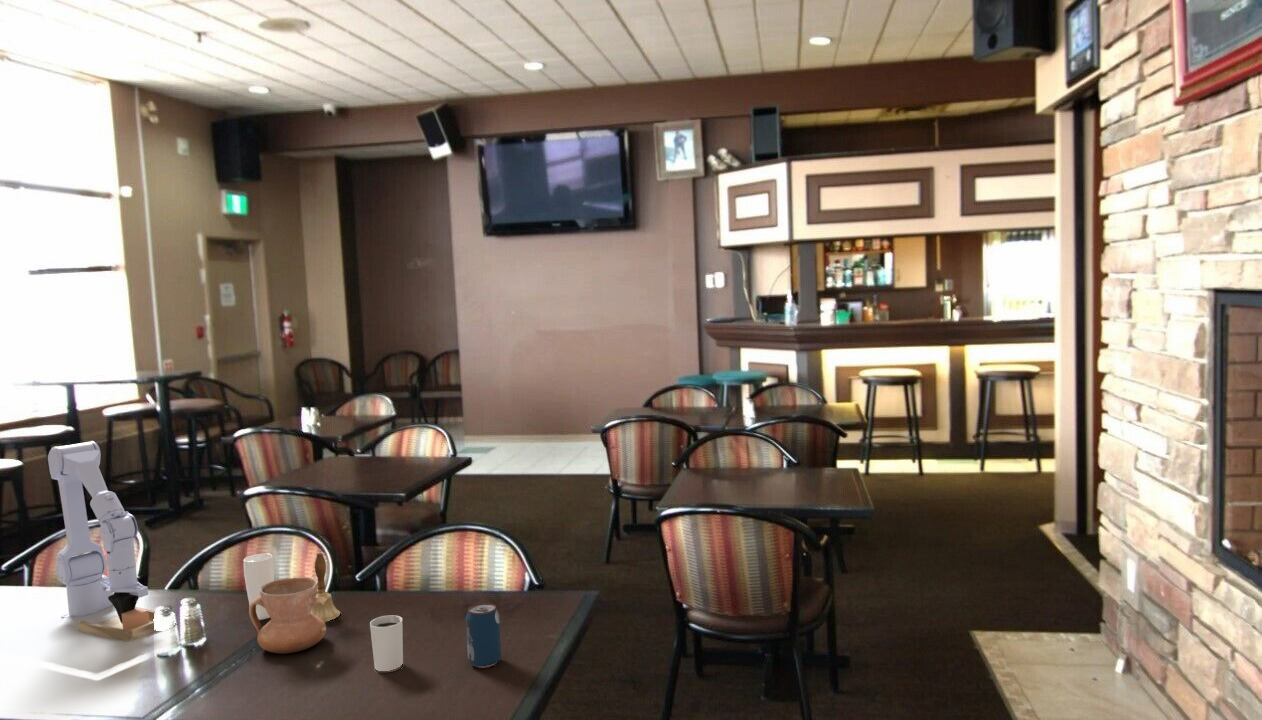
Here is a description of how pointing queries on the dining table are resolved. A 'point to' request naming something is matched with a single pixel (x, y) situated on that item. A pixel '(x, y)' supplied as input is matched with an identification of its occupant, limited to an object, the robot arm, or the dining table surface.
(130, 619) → the terracotta block
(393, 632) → the white cup
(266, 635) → the ceramic jug
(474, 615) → the soda can
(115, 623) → the shallow wooden tray
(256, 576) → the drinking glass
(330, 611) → the hand bell
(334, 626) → the dining table surface
